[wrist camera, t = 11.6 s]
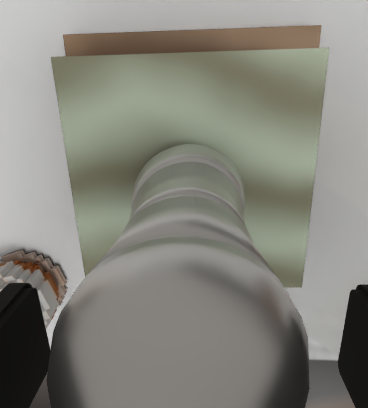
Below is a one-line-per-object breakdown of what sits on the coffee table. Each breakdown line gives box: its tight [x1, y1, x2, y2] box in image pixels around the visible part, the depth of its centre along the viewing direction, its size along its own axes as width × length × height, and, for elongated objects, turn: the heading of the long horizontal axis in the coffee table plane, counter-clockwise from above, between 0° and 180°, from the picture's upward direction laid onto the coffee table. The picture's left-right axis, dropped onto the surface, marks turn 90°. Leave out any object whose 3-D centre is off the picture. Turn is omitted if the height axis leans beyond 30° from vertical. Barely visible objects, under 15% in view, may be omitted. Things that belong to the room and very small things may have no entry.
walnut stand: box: [51, 25, 329, 287], centre depth 27 cm, size 20×20×10 cm
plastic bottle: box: [47, 144, 310, 408], centre depth 13 cm, size 6×7×20 cm
